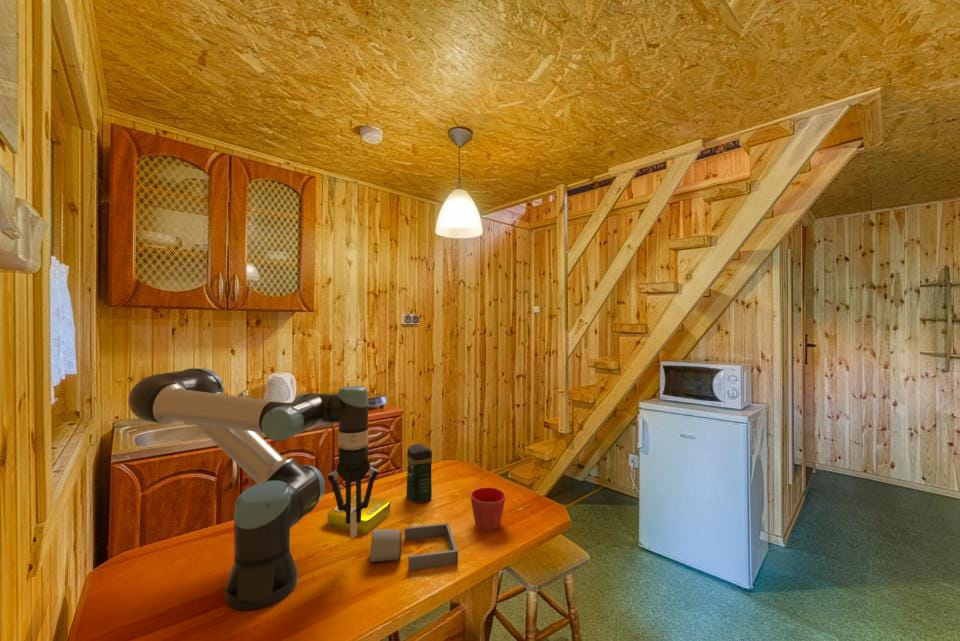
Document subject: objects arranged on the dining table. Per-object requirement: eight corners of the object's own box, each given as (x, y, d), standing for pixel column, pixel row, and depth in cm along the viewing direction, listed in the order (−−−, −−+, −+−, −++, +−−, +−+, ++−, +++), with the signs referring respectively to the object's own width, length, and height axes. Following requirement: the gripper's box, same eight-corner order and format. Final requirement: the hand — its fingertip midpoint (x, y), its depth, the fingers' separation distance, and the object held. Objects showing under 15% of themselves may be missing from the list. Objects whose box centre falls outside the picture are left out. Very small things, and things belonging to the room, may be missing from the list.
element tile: (365, 536, 122) (365, 520, 122) (324, 526, 127) (324, 511, 127) (392, 513, 136) (392, 499, 136) (354, 506, 141) (355, 492, 141)
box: (408, 571, 105) (408, 557, 105) (404, 539, 120) (404, 527, 120) (457, 564, 108) (457, 551, 108) (448, 534, 123) (448, 523, 123)
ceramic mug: (402, 564, 108) (402, 535, 108) (369, 568, 106) (370, 538, 106) (401, 543, 118) (401, 516, 118) (372, 546, 116) (372, 519, 117)
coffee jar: (435, 500, 146) (435, 448, 145) (414, 505, 141) (414, 451, 141) (423, 490, 154) (424, 440, 154) (403, 495, 149) (404, 444, 149)
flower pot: (486, 538, 121) (487, 505, 121) (463, 523, 129) (463, 493, 129) (512, 526, 128) (512, 495, 128) (488, 513, 136) (488, 484, 136)
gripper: (325, 452, 103) (325, 545, 104) (379, 448, 107) (379, 538, 107) (329, 443, 111) (329, 530, 111) (378, 439, 114) (378, 524, 114)
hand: (353, 534), depth 109 cm, fingers closed
